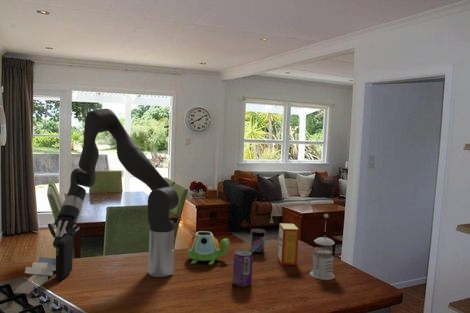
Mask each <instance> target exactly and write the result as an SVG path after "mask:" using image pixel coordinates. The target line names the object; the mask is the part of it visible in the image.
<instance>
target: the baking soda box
mask: <svg viewBox="0 0 470 313" xmlns="http://www.w3.org/2000/svg"><path fill="white" fill-rule="evenodd" d="M278 227H279V228H278V240H277V241H278V243H277V259H278V261H279V262H280V265H281V266H297V264H298V261H297V260H298V252H299V251H298V248H299V234H300V230H299V229H300V228H298V227H297V225H295V224H294V223H287V222H285V223H284V222H283V223H282V222H280V223H279V224H278Z"/></svg>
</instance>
